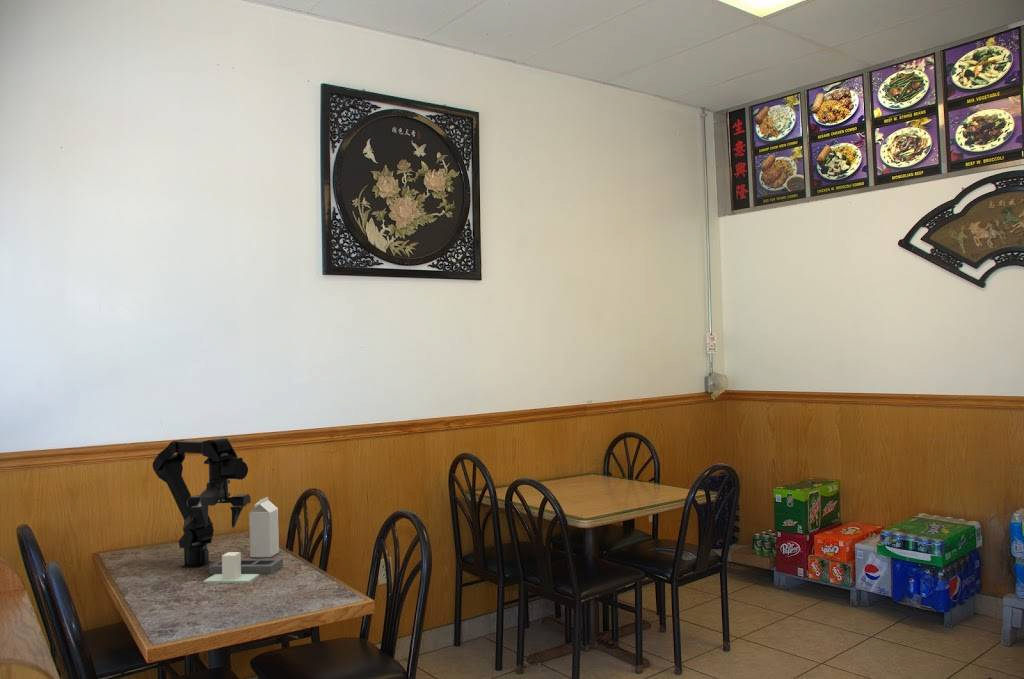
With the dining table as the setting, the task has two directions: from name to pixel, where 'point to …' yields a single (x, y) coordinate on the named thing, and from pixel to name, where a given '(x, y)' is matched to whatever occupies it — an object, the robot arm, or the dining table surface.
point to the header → (251, 566)
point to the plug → (231, 565)
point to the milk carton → (264, 529)
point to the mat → (241, 579)
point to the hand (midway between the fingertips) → (219, 527)
